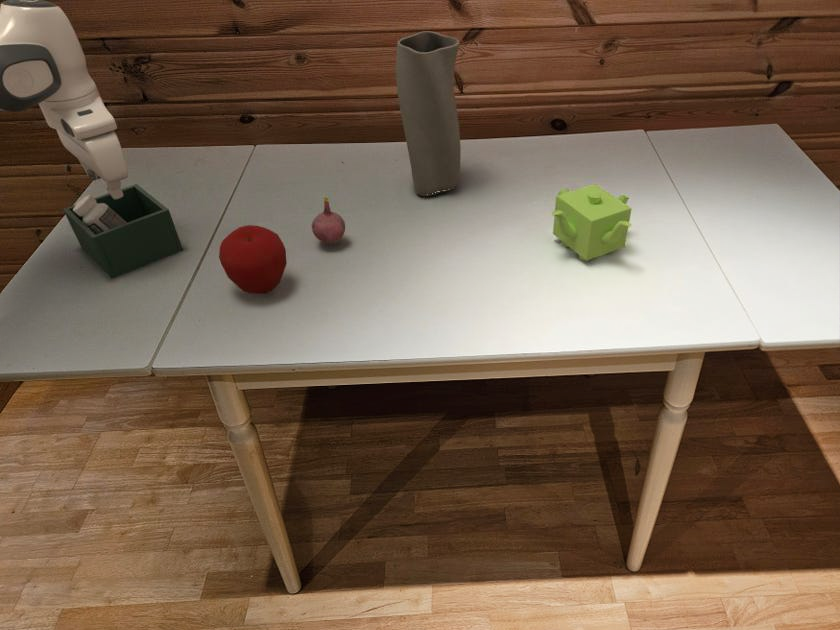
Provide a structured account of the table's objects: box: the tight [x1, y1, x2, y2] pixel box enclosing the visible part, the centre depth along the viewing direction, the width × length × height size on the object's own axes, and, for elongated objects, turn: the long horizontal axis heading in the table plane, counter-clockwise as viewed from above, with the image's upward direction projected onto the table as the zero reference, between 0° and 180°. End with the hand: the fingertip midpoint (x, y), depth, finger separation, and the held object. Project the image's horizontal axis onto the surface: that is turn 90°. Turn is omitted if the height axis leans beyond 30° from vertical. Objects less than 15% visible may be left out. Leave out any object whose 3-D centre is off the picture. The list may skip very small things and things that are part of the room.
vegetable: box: [311, 195, 346, 245], centre depth 122 cm, size 6×6×10 cm
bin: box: [62, 183, 184, 280], centre depth 121 cm, size 14×14×9 cm
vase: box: [395, 30, 462, 197], centre depth 132 cm, size 12×12×30 cm
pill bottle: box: [73, 194, 127, 235], centre depth 119 cm, size 5×5×10 cm
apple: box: [218, 224, 287, 295], centre depth 111 cm, size 11×11×12 cm
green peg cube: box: [550, 183, 632, 262], centre depth 122 cm, size 15×14×11 cm
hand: (106, 187), depth 115 cm, fingers open, 8 cm apart
